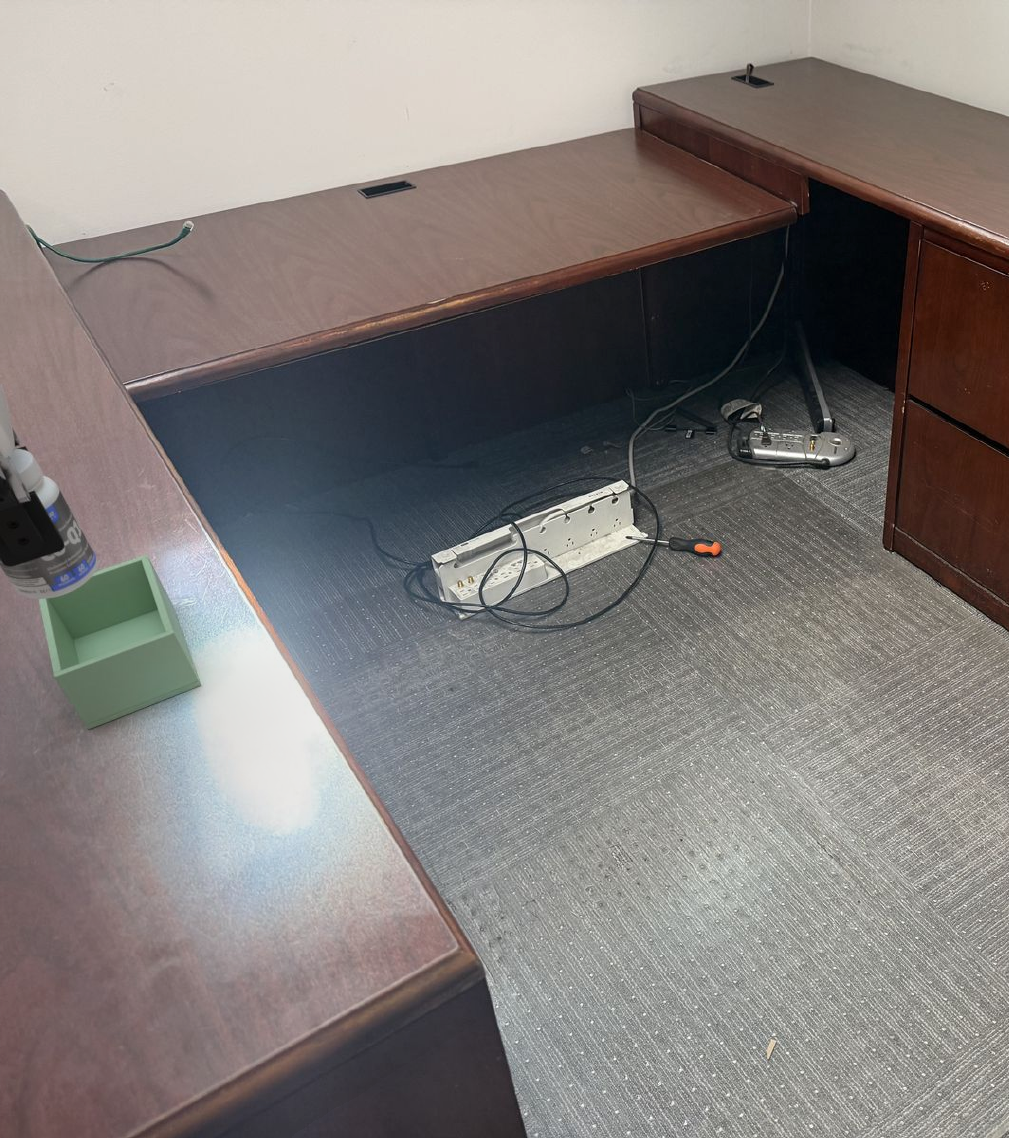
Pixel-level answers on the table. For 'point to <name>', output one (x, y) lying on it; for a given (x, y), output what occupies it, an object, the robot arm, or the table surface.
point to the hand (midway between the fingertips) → (30, 529)
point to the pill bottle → (77, 556)
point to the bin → (117, 643)
